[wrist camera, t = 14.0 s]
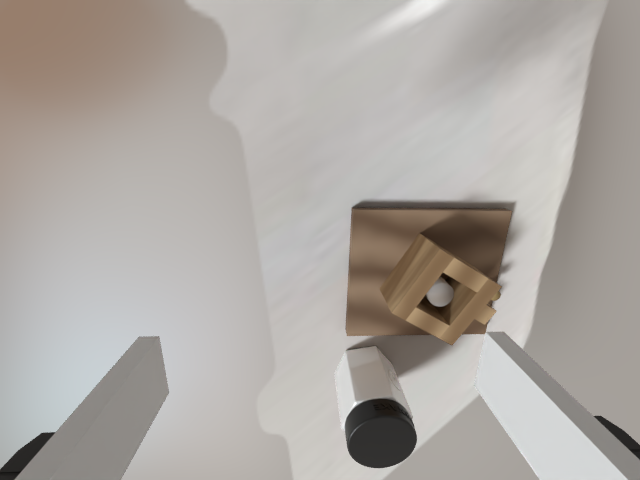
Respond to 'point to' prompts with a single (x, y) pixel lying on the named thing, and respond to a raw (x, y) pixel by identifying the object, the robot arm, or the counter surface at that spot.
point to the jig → (394, 240)
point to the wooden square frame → (420, 275)
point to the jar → (373, 409)
